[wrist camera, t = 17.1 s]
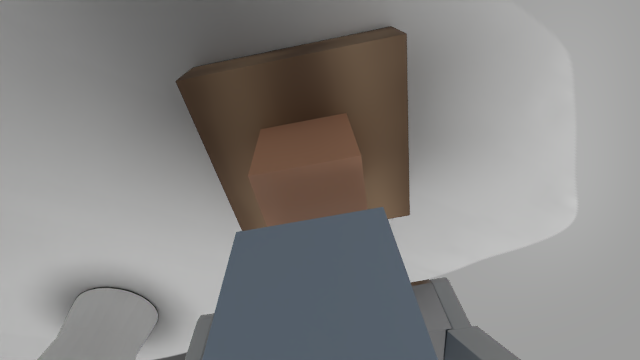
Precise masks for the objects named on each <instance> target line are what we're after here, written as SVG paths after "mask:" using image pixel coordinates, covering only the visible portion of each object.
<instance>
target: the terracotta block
mask: <svg viewBox="0 0 640 360" xmlns="http://www.w3.org/2000/svg"><path fill="white" fill-rule="evenodd" d="M248 178H249V181H250V183H251V186H252V189H253V191H254V194H255V197H256V199H257V202H258V205H259V207H260V210H261V213H262V215H263V218H264V221H265V223H266V226H267V227H269V226H275V225H281V224H287V223H292V222H298V221H304V220H310V219H316V218H321V217H327V216H333V215H339V214H345V213H350V212H356V211H362V210H368V209H367V201H366V192H365V183H364V175H363V166H362V157H361V153H360V150H359V147H358V145H357V142H356V139H355V136H354V133H353V130H352V128H351V125H350V122H349V119H348V116H347V113H344V114H338V115H333V116H328V117H323V118H317V119H312V120H307V121H302V122H296V123H291V124H286V125H281V126H275V127H270V128H265V129H261V130H260V133H259V137H258V141H257V144H256V148H255V152H254V155H253V159H252V163H251V166H250V170H249V174H248Z"/></svg>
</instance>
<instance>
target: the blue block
mask: <svg viewBox="0 0 640 360" xmlns="http://www.w3.org/2000/svg"><path fill="white" fill-rule="evenodd" d="M202 360H438V358H437V355H436V353H435V350H434V347H433V344H432V341H431V339H430V336H429V333H428V330H427V327H426V325H425V322H424V319H423V316H422V314H421V311H420V308H419V305H418V302H417V300H416V297H415V294H414V291H413V288H412V286H411V283H410V280H409V277H408V274H407V272H406V269H405V266H404V263H403V261H402V258H401V255H400V252H399V249H398V247H397V244H396V241H395V238H394V235H393V233H392V230H391V227H390V224H389V221H388V219H387V216H386V213H385V210H384V207H379V208H374V209H368V210H362V211H356V212H350V213H345V214H339V215H333V216H327V217H321V218H316V219H310V220H304V221H298V222H292V223H287V224H281V225H275V226H269V227H263V228H258V229H252V230H246V231H240V232H236V235H235V239H234V242H233V246H232V250H231V254H230V257H229V261H228V265H227V269H226V272H225V276H224V280H223V284H222V287H221V291H220V295H219V299H218V302H217V306H216V310H215V314H214V317H213V321H212V325H211V328H210V332H209V336H208V340H207V343H206V347H205V351H204V355H203V358H202Z"/></svg>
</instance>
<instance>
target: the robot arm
mask: <svg viewBox="0 0 640 360" xmlns="http://www.w3.org/2000/svg"><path fill="white" fill-rule="evenodd" d="M411 286H412V288H413V291H414V294H415V297H416V300H417V302H418V305H419V308H420V311H421V314H422V316H423V319H424V322H425V325H426V327H427V330H428V333H429V336H430V339H431V341H432V344H433V347H434V350H435V353H436V355H437V358H438V360H520V359H519V358H518V357H516V356H515V355H514V354H513V353H511V352H510V351H509V350H507V349H506V348H505V347H503V346H502V345H501V344H500V343H498V342H497V341H496V340H494V339H493V338H492V337H491V336H489V335H488V334H487V333H485V332H484V331H483V330H481V329H480V328H479V327H478V326H471V324H470V322H469V320H468V318H467V317H466V314H465V312H464V310H463V308H462V306H461V304H460V302H459V300H458V298H457V296H456V294H455V292H454V290H453V288H452V286H451V284H450V282H449V280H448V279H447V278H445V277H443V278H437V279H432V280H429V279H428V280H423V281H417V282H411ZM214 314H215V313H213V314H207V315H201V316H200V318H199V319H198V321H197V323H196V327H195V330H194V333H193V336H192V339H191V342H190V346H189V349H188V352H187V355H186V358H185V360H202V358H203V355H204V351H205V347H206V343H207V340H208V336H209V332H210V328H211V325H212V321H213V317H214Z"/></svg>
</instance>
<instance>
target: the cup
mask: <svg viewBox="0 0 640 360" xmlns="http://www.w3.org/2000/svg"><path fill="white" fill-rule="evenodd" d="M157 320H158V313H157V311H156V309H155V307H154V306H153V305H152V304H151V303H150V302H149V301H147V300H146V299H144V298H143V297H141V296H139V295H136V294H134V293H132V292H128V291H124V290H121V289H113V288H97V289H92V290H88V291H86V292H84V293H82V294H80V295H79V296H78V297H77V299H76V300H75V302H74V304H73V305H72V307H71V309H70V311H69V313H68V315H67V317H66V319H65V321H64V323H63V325H62V327H61V329H60V332H59V334H58V336H57V338H56V339H55V340H54V341H53V342H52V343H51V345H50V346H49V347H48V348H47V349H46V350H45V351H44V353H43V354H42V355H41V356H40V357H39V358H38V360H135V359H136V355H137V354H138V352H139V351H140V349H141V347H142V346H143V344H144V343H145V341H146V340H147V338H148V336H149V335H150V333H151V331H152V329H153V328H154V326H155V324H156V322H157Z"/></svg>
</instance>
